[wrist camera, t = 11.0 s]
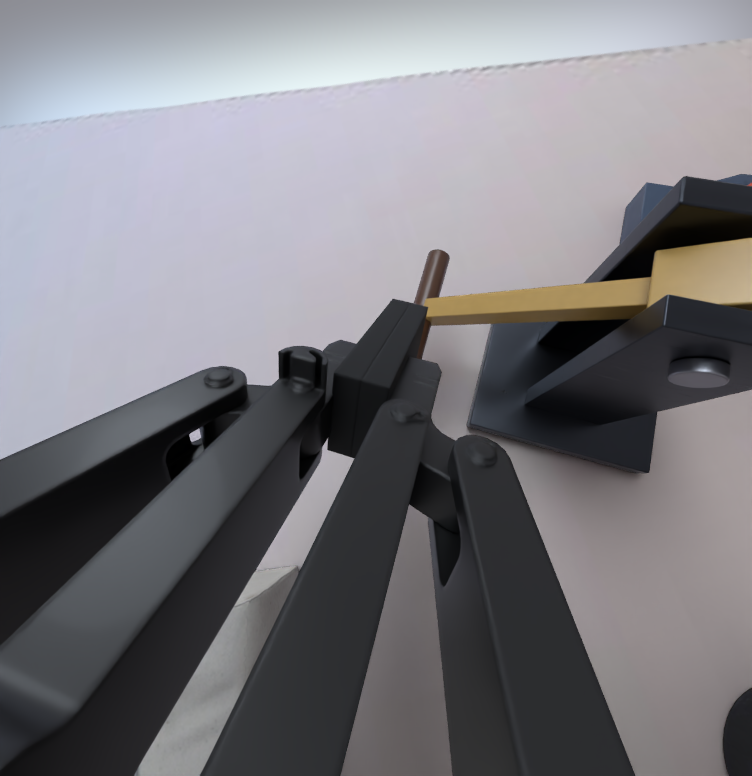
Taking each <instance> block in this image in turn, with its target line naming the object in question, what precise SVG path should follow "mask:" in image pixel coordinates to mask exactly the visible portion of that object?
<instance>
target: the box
mask: <svg viewBox="0 0 752 776" xmlns="http://www.w3.org/2000/svg"><path fill="white" fill-rule="evenodd" d="M297 576H298V569H297V566H289V567H282V568H275V569H269V570H261V571H255V572H254V573H253V575H252V577H251V579H250V580H249V582H248V584H247V585H246V587H245V589H244V590H243V592H242V594H241V595H240V597H239V599H238V600H237V602H236V604H235V605H234V607H233V609H232V610H231V612H230V614H229V615H228V617H227V619H226V620H225V622H224V624H223V626H222V627H221V629H220V631H219V632H218V634H217V636H216V637H215V639H214V641H213V642H212V644H211V646H210V647H209V649H208V651H207V652H206V654H205V656H204V657H203V659H202V661H201V662H200V664H199V666H198V668H197V669H196V671H195V673H194V674H193V676H192V678H191V679H190V681H189V683H188V684H187V686H186V688H185V689H184V691H183V693H182V694H181V696H180V698H179V699H178V701H177V703H176V704H175V706H174V708H173V710H172V711H171V713H170V715H169V716H168V718H167V720H166V721H165V723H164V725H163V726H162V728H161V730H160V731H159V733H158V735H157V736H156V738H155V740H154V741H153V743H152V745H151V746H150V748H149V750H148V751H147V753H146V755H145V757H144V758H143V760H142V762H141V764H140V765H139V767H138V769H137V771H136V773H135V775H134V776H200V774H201V772H202V770H203V768H204V766H205V764H206V762H207V760H208V758H209V756H210V754H211V752H212V750H213V748H214V746H215V744H216V742H217V740H218V738H219V736H220V734H221V732H222V730H223V728H224V726H225V723H226V721H227V719H228V717H229V715H230V713H231V711H232V709H233V707H234V705H235V703H236V701H237V699H238V697H239V695H240V693H241V691H242V689H243V687H244V685H245V682H246V680H247V678H248V676H249V674H250V672H251V670H252V668H253V666H254V664H255V662H256V660H257V658H258V656H259V654H260V652H261V650H262V648H263V646H264V644H265V641H266V639H267V637H268V635H269V633H270V631H271V629H272V627H273V625H274V623H275V621H276V619H277V617H278V615H279V613H280V611H281V609H282V607H283V605H284V603H285V600H286V598H287V596H288V594H289V592H290V590H291V588H292V586H293V584H294V582H295V580H296V578H297Z"/></svg>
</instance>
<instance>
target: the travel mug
mask: <svg viewBox="0 0 752 776" xmlns="http://www.w3.org/2000/svg"><path fill="white" fill-rule="evenodd" d="M724 754H725V761H726V765H727V769H728V773H729V776H752V688H751V689H749V690H748V691H747V692H745V693H744V694H743V695H742V696H741V697H740V698H739V699H738V700H737V701H736V703H735V704H734V706H733V707H732V709H731V711H730V713H729V716H728V718H727V721H726V725H725V731H724Z"/></svg>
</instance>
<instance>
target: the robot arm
mask: <svg viewBox="0 0 752 776" xmlns="http://www.w3.org/2000/svg"><path fill="white" fill-rule="evenodd" d="M427 311H428V307H426V306H422V305H418V304H413V303H409V302H405V301H400V300H396V299H392V301H391V302H390V303H389V304H388V306H387V307H386V308H385V309H384V311H383V312H382V313H381V314H380V316H379V317H378V318H377V319H376V321H375V322H374V323H373V324H372V326H371V327H370V328H369V329H368V331H367V332H366V333H365V334H364V336H363V337H362V338H361V339H360V340H359V342H358V343H357V344H355V343H351V342H347V341H343V340H339V341H336V342H334V343H331V344H329V345H328V346H327V347H326V348H325V349H324V350H323V352H322V351H321V350H318V349H316V348H313V347H306V346H293V347H288V348H285V349H283V350H281V351H279V379H278V380H277V381H276V382H275V383H274V384H273V385H272V386H261V385H247V379H246V376H245V373H243V372H242V371H241V370H239V369H236V368H233V367H227V366H226V367H225V366H219V367H211V368H208V369H205V370H202V371H200V372H197V373H195V374H193V375H190V376H188V377H186V378H184V379H181V380H179V381H177V382H175V383H172V384H170V385H168V386H166V387H163V388H161V389H159V390H157V391H154V392H152V393H150V394H148V395H145V396H143V397H141V398H139V399H136V400H134V401H132V402H129V403H127V404H125V405H123V406H120V407H118V408H116V409H114V410H111V411H109V412H107V413H105V414H102V415H100V416H98V417H96V418H93V419H91V420H89V421H87V422H84V423H82V424H80V425H78V426H75V427H73V428H71V429H69V430H66V431H64V432H62V433H59V434H57V435H55V436H53V437H50V438H48V439H46V440H44V441H41V442H39V443H37V444H35V445H32V446H30V447H28V448H26V449H23V450H21V451H19V452H17V453H14V454H12V455H10V456H8V457H5V458H3V459H1V460H0V776H134V775H135V773H136V771H137V769H138V767H139V765H140V764H141V762H142V760H143V758H144V757H145V755H146V753H147V751H148V750H149V748H150V746H151V745H152V743H153V741H154V740H155V738H156V736H157V735H158V733H159V731H160V730H161V728H162V726H163V725H164V723H165V721H166V720H167V718H168V716H169V715H170V713H171V711H172V710H173V708H174V706H175V704H176V703H177V701H178V699H179V698H180V696H181V694H182V693H183V691H184V689H185V688H186V686H187V684H188V683H189V681H190V679H191V678H192V676H193V674H194V673H195V671H196V669H197V668H198V666H199V664H200V662H201V661H202V659H203V657H204V656H205V654H206V652H207V651H208V649H209V647H210V646H211V644H212V642H213V641H214V639H215V637H216V636H217V634H218V632H219V631H220V629H221V627H222V626H223V624H224V622H225V620H226V619H227V617H228V615H229V614H230V612H231V610H232V609H233V607H234V605H235V604H236V602H237V600H238V599H239V597H240V595H241V594H242V592H243V590H244V589H245V587H246V585H247V584H248V582H249V580H250V579H251V577H252V575H253V573H254V572H255V570H256V568H257V567H258V565H259V563H260V562H261V560H262V558H263V557H264V555H265V553H266V552H267V550H268V548H269V547H270V545H271V543H272V542H273V540H274V538H275V537H276V535H277V533H278V531H279V530H280V528H281V526H282V525H283V523H284V521H285V520H286V518H287V516H288V515H289V513H290V511H291V510H292V508H293V506H294V505H295V503H296V501H297V500H298V498H299V496H300V495H301V493H302V491H303V489H304V488H305V486H306V484H307V483H308V481H309V479H310V478H311V476H312V474H313V473H314V471H315V469H316V468H317V466H318V464H319V463H320V460H321V456H322V446H323V445H324V443H325V442H326V440H327V438H328V449H327V450H330V451H333V452H336V453H339V454H343V455H346V456H349V457H352V458H355V459H354V461H353V463H352V465H351V467H350V469H349V471H348V473H347V475H346V477H345V480H344V482H343V484H342V486H341V488H340V490H339V492H338V494H337V496H336V498H335V500H334V502H333V504H332V506H331V508H330V510H329V512H328V514H327V516H326V518H325V521H324V523H323V525H322V527H321V529H320V531H319V533H318V535H317V537H316V539H315V541H314V543H313V545H312V547H311V549H310V551H309V553H308V555H307V557H306V559H305V562H304V564H303V566H302V568H301V570H300V572H299V574H298V576H297V578H296V580H295V582H294V584H293V586H292V588H291V590H290V592H289V594H288V596H287V598H286V600H285V603H284V605H283V607H282V609H281V611H280V613H279V615H278V617H277V619H276V621H275V623H274V625H273V627H272V629H271V631H270V633H269V635H268V637H267V639H266V641H265V644H264V646H263V648H262V650H261V652H260V654H259V656H258V658H257V660H256V662H255V664H254V666H253V668H252V670H251V672H250V674H249V676H248V678H247V680H246V682H245V685H244V687H243V689H242V691H241V693H240V695H239V697H238V699H237V701H236V703H235V705H234V707H233V709H232V711H231V713H230V715H229V717H228V719H227V721H226V723H225V726H224V728H223V730H222V732H221V734H220V736H219V738H218V740H217V742H216V744H215V746H214V748H213V750H212V752H211V754H210V756H209V758H208V760H207V762H206V764H205V766H204V768H203V770H202V772H201V774H200V776H340V775H341V771H342V767H343V763H344V759H345V755H346V751H347V747H348V743H349V739H350V735H351V731H352V728H353V724H354V720H355V716H356V712H357V708H358V704H359V700H360V696H361V692H362V688H363V684H364V680H365V676H366V672H367V668H368V664H369V660H370V656H371V652H372V649H373V645H374V641H375V637H376V633H377V629H378V625H379V621H380V617H381V613H382V609H383V605H384V601H385V597H386V593H387V589H388V585H389V581H390V577H391V573H392V570H393V566H394V562H395V558H396V554H397V550H398V546H399V542H400V538H401V534H402V530H403V526H404V522H405V518H406V514H407V510H408V506H409V505H411V506H412V507H414V508H416V509H417V510H419V511H420V512H422V513H423V514H425V515H426V516H428V517H429V518H428V527H429V537H430V547H431V557H432V568H433V578H434V588H435V599H436V609H437V619H438V629H439V640H440V650H441V660H442V670H443V681H444V691H445V701H446V711H447V722H448V732H449V742H450V752H451V763H452V773H453V776H635V773H634V771H633V768H632V766H631V763H630V761H629V758H628V756H627V753H626V751H625V748H624V746H623V743H622V740H621V738H620V735H619V733H618V730H617V728H616V725H615V723H614V720H613V718H612V715H611V713H610V710H609V708H608V705H607V702H606V700H605V697H604V695H603V692H602V690H601V687H600V685H599V682H598V680H597V677H596V675H595V672H594V670H593V667H592V664H591V662H590V659H589V657H588V654H587V652H586V649H585V647H584V644H583V642H582V639H581V637H580V634H579V632H578V629H577V627H576V624H575V621H574V619H573V616H572V614H571V611H570V609H569V606H568V604H567V601H566V599H565V596H564V594H563V591H562V589H561V586H560V583H559V581H558V578H557V576H556V573H555V571H554V568H553V566H552V563H551V561H550V558H549V556H548V553H547V551H546V548H545V545H544V543H543V540H542V538H541V535H540V533H539V530H538V528H537V525H536V523H535V520H534V518H533V515H532V513H531V510H530V507H529V505H528V502H527V500H526V497H525V495H524V492H523V490H522V487H521V485H520V482H519V480H518V477H517V475H516V472H515V469H514V467H513V464H512V462H511V459H510V457H509V456H508V454H507V453H506V451H505V450H504V449H503V448H502V447H501V446H499V445H498V444H497V443H495V442H493V441H491V440H489V439H488V438H485V437H481V436H477V435H466V436H463V437H460V438H458V439H457V440H456V441H455V440H453V439H451V438H449V437H447V436H446V435H444V434H443V433H441V432H440V431H439V430H438V429H437V428H436V427H435V425H434V424H433V422H432V419H431V413H432V409H433V405H434V401H435V397H436V393H437V389H438V385H439V381H440V377H441V373H442V372H441V370H440V368H439V366H438V364H437V363H433V362H429V361H426V360H422V359H418V358H417V354H418V350H419V346H420V341H421V337H422V333H423V328H424V324H425V320H426V315H427ZM198 428H199V429H200V434H201V438H200V439H199V440H196V441H194V442H191V441H190V437H189V434H190V433H192V432H193V431H195V430H197V429H198Z"/></svg>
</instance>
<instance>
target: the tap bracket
mask: <svg viewBox="0 0 752 776" xmlns="http://www.w3.org/2000/svg"><path fill="white" fill-rule="evenodd" d="M745 238H752V186H747V185H740V184H734V183H727V182H721V181H714V180H707V179H701V178H694V177H687V176H686V177H683V178H682V179H681V180H680V181H679V182H678V183H677V184H676V185H675V186H674V187H673V188H672V189H671V190H670V191H669V192H668V194H667V195H666V196H665V197H664V198H663V199H662V200H661V201H660V202H659V203H658V204H657V205H656V206H655V207H654V209H653V210H652V211H651V212H650V213H649V214H648V215H647V216H646V217H645V218H644V219H643V220H642V221H641V222H640V223H639V225H638V226H637V227H636V228H635V229H634V230H633V231H632V232H631V233H630V234H629V235H628V236H627V237H626V238H625V240H624V241H623V242H622V243H621V244H620V245H619V246H618V247H617V248H616V249H615V250H614V251H613V252H612V253H611V255H610V256H609V257H608V258H607V259H606V260H605V261H604V262H603V263H602V264H601V265H600V266H599V267H598V268H597V269H596V271H595V272H594V273H593V274H592V275H591V276H590V277H589V278H588V279H587V280H586V281H585V282H584V283H594V282H605V281H615V280H626V279H636V278H646V277H651V275H652V268H653V261H654V254H655V252H656V251H657V250H664V249H671V248H679V247H686V246H693V245H701V244H708V243H716V242H723V241H731V240H738V239H745ZM584 283H583V284H584ZM748 390H752V311H750V310H745V309H740V308H735V307H730V306H725V305H720V304H715V303H710V302H705V301H700V300H695V299H690V298H685V297H680V296H675V295H670V294H668V295H666V296H664V297H663V298H661V299H660V300H658V301H657V302H655V303H654V304H652V305H651V306H649V307H648V308H646V309H645V310H644V311H642V312H641V313H639V314H638V315H636V316H635V317H633V318H632V319H613V320H584V321H554V322H525V323H496V324H491V328H490V332H489V336H488V340H487V344H486V348H485V352H484V357H483V361H482V365H481V369H480V373H479V377H478V381H477V385H476V389H475V394H474V398H473V402H472V406H471V410H470V414H469V418H468V422H467V426H468V427H471V428H474V429H478V430H481V431H485V432H489V433H492V434H496V435H499V436H503V437H507V438H510V439H514V440H518V441H521V442H525V443H528V444H532V445H536V446H539V447H543V448H546V449H550V450H554V451H557V452H561V453H565V454H568V455H572V456H575V457H579V458H583V459H586V460H590V461H593V462H597V463H601V464H604V465H608V466H612V467H615V468H619V469H622V470H626V471H630V472H633V473H649V470H650V463H651V455H652V448H653V440H654V433H655V425H656V417H657V412H658V411H662V410H667V409H671V408H675V407H679V406H684V405H688V404H692V403H697V402H701V401H705V400H709V399H714V398H718V397H722V396H726V395H731V394H735V393H739V392H743V391H748Z"/></svg>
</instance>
